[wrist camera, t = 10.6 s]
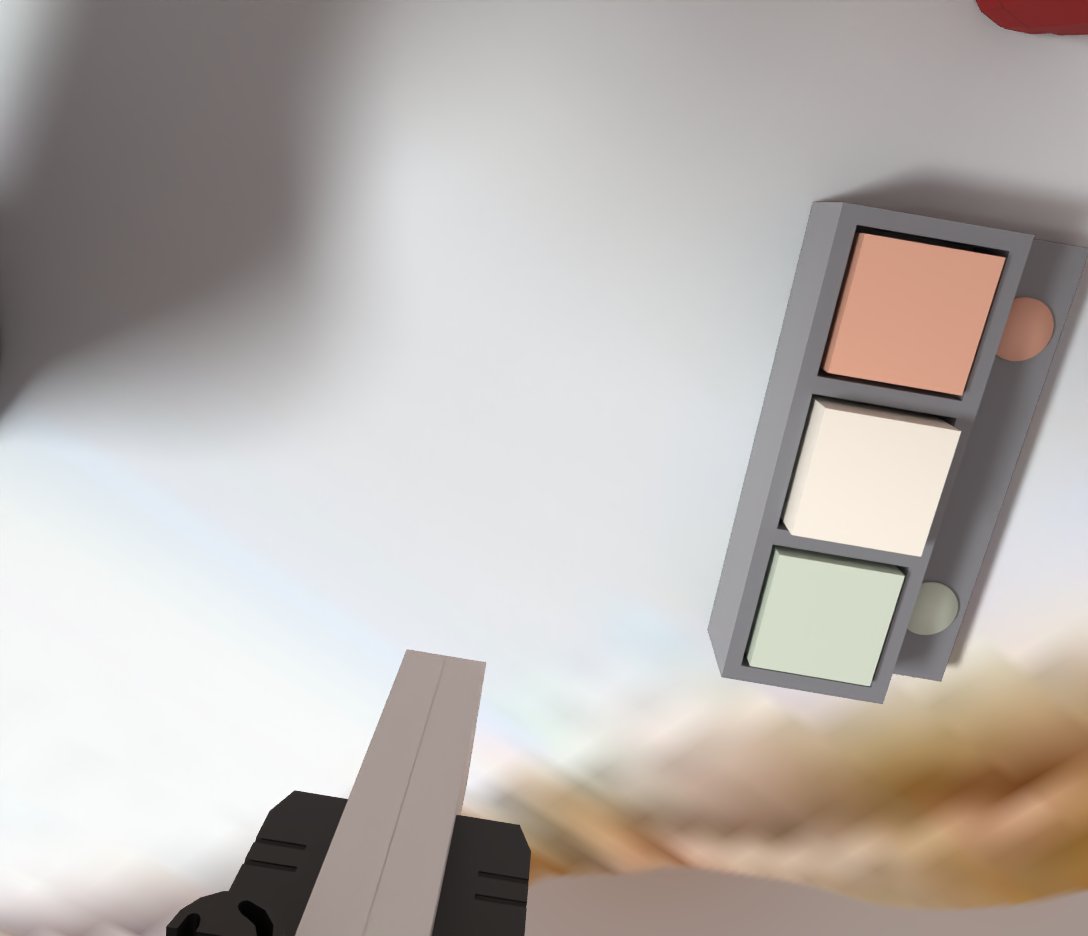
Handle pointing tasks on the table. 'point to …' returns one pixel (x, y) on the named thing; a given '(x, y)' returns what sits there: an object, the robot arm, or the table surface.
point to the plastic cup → (1038, 15)
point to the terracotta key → (910, 313)
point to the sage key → (823, 615)
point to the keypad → (980, 413)
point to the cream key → (868, 475)
